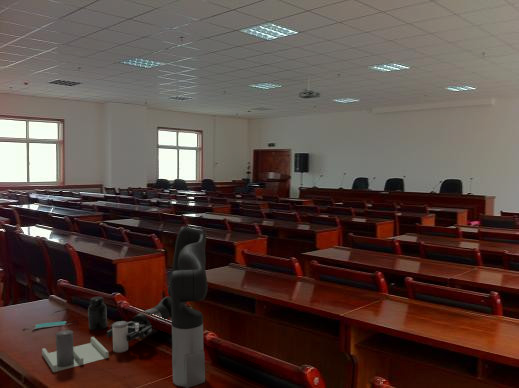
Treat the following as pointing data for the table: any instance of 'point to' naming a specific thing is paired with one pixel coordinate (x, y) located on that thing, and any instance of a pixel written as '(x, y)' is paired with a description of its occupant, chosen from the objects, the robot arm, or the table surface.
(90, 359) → the divided tray
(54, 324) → the surgical mask
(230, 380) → the table surface
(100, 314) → the supplement bottle
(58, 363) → the grey cylinder
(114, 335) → the white cylinder
